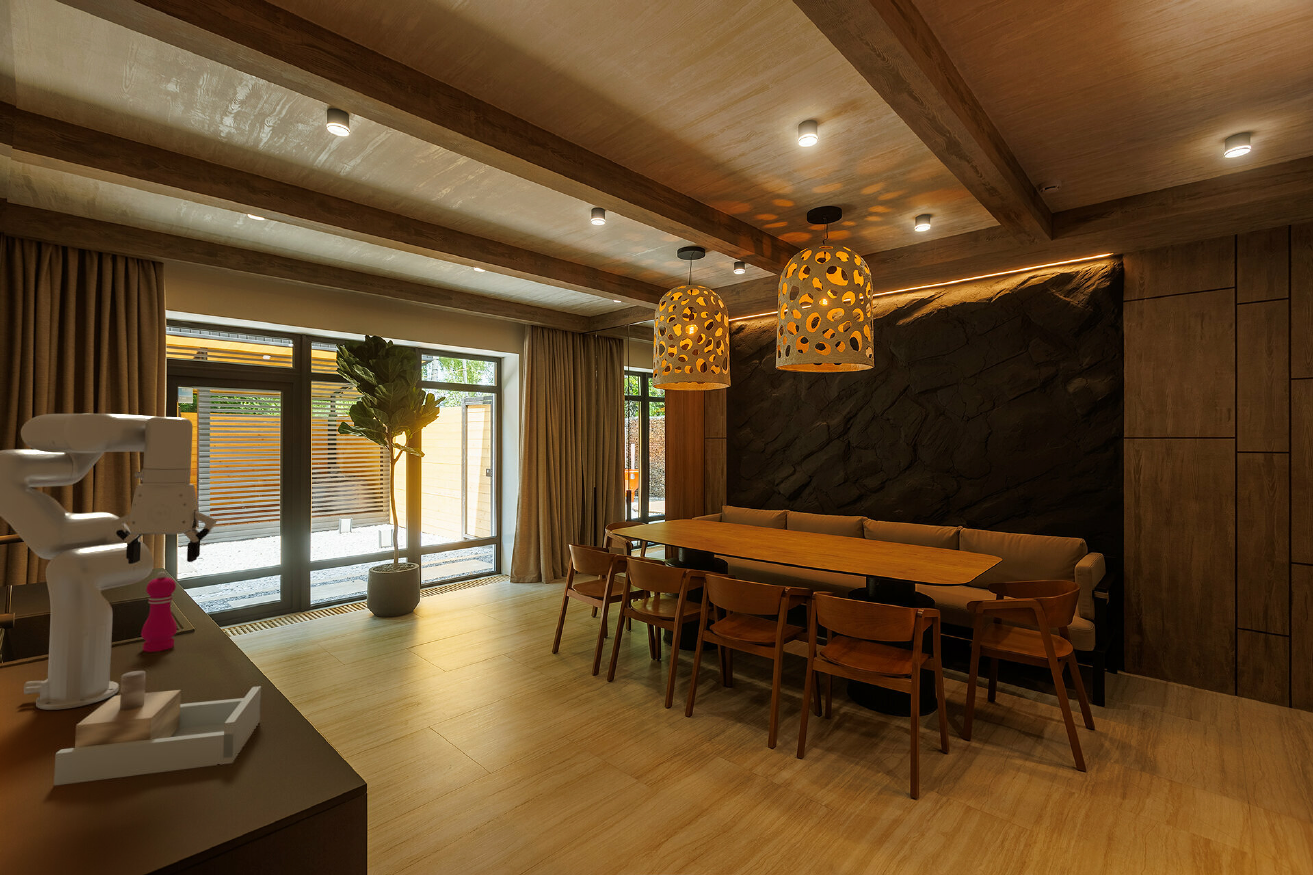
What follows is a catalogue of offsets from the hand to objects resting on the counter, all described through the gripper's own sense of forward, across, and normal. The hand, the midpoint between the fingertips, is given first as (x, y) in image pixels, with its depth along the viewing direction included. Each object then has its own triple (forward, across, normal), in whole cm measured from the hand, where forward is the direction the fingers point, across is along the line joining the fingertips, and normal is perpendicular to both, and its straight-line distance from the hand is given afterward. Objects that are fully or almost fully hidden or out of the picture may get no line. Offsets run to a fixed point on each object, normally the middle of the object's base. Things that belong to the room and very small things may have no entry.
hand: (163, 561), depth 121 cm
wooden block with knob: (+29, +3, -18) cm, 34 cm away
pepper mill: (+31, -16, +44) cm, 56 cm away
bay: (+30, +8, -18) cm, 37 cm away
